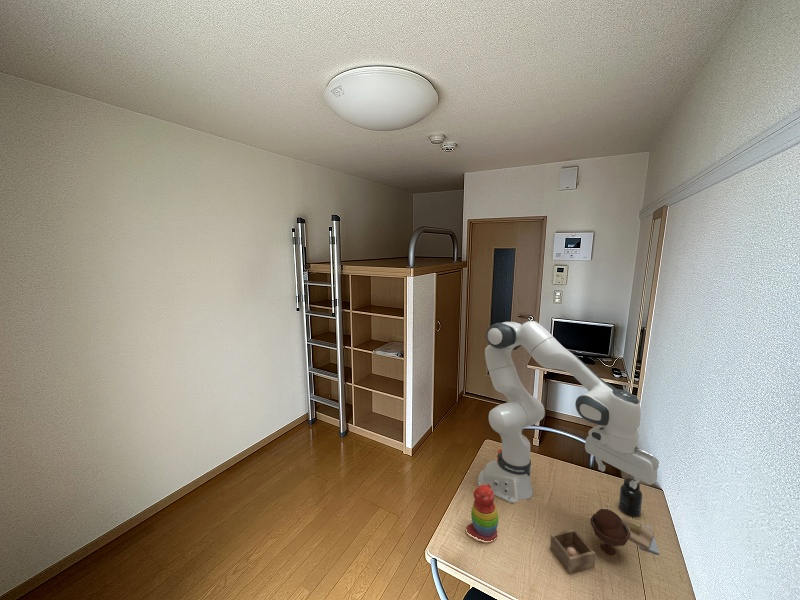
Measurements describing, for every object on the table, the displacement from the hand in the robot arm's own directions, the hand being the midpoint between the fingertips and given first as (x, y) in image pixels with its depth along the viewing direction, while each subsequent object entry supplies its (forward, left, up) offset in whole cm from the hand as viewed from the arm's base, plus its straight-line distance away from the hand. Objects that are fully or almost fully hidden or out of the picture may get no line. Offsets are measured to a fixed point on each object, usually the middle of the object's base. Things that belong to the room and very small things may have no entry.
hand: (616, 478), depth 105 cm
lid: (+8, +7, -24) cm, 26 cm away
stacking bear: (-40, -15, -25) cm, 49 cm away
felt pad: (+8, +7, -24) cm, 27 cm away
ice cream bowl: (-1, -4, -25) cm, 25 cm away
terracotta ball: (-12, -13, -24) cm, 30 cm away
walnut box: (-12, -13, -24) cm, 30 cm away
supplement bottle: (+8, +19, -25) cm, 32 cm away
